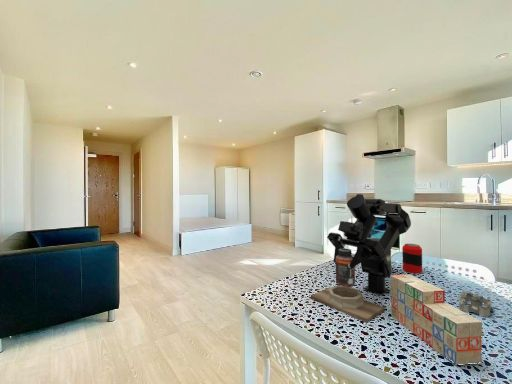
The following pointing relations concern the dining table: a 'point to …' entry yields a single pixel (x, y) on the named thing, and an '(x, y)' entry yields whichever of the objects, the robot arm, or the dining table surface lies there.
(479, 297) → the egg carton
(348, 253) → the supplement bottle
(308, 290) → the dining table surface
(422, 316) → the stack of blocks
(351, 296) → the collar board
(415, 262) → the soda can
